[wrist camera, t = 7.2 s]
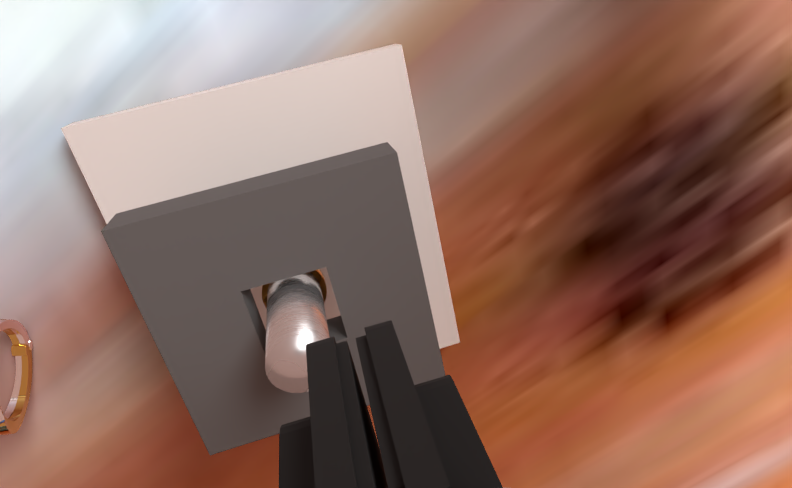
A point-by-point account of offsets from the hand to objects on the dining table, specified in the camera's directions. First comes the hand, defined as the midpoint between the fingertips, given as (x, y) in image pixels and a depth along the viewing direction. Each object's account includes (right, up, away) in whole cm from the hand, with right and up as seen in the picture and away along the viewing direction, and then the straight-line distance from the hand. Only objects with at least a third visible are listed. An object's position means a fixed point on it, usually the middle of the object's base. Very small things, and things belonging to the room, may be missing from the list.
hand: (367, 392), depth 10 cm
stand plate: (-7, +3, +27) cm, 28 cm away
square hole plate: (-5, 0, +20) cm, 20 cm away
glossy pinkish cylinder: (-6, +2, +25) cm, 26 cm away
